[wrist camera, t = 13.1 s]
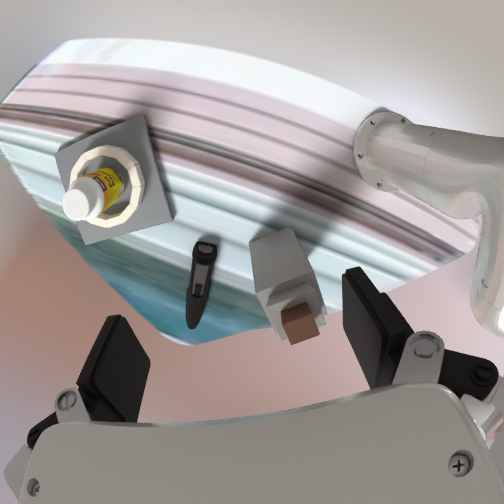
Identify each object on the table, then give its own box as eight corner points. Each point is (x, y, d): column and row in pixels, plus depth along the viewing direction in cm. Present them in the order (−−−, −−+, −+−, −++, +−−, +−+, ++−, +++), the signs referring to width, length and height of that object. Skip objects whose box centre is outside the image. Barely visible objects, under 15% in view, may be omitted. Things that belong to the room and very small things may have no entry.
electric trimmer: (182, 316, 49) (179, 328, 46) (195, 239, 42) (192, 248, 40) (202, 320, 50) (201, 332, 47) (219, 244, 43) (218, 254, 40)
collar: (144, 115, 33) (137, 114, 31) (173, 218, 40) (169, 226, 38) (57, 152, 34) (47, 155, 31) (88, 242, 41) (80, 250, 38)
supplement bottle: (131, 177, 36) (101, 196, 27) (116, 209, 38) (86, 236, 29) (101, 159, 35) (65, 173, 25) (87, 191, 36) (52, 213, 27)
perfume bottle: (303, 261, 45) (338, 338, 29) (265, 277, 46) (281, 359, 30) (290, 225, 42) (324, 293, 26) (249, 242, 43) (258, 318, 27)
